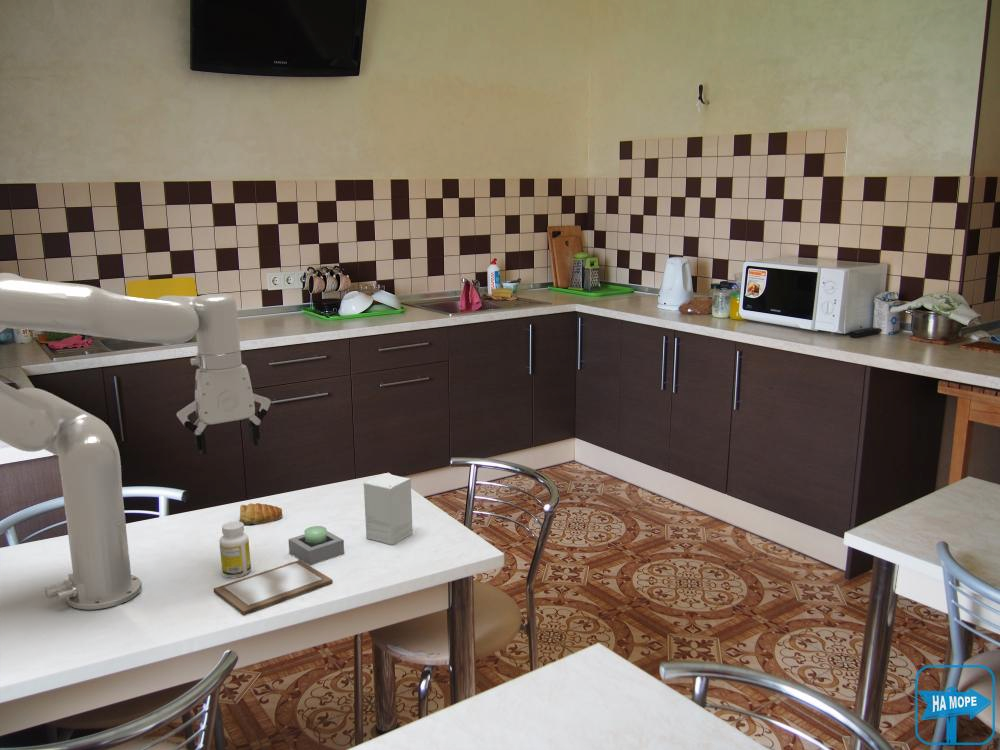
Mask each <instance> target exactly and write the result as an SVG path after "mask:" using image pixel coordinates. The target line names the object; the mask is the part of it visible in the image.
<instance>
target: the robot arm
mask: <svg viewBox="0 0 1000 750" xmlns="http://www.w3.org/2000/svg"><path fill="white" fill-rule="evenodd" d="M6 329H15V330H26V331H28V330H29V331H41V332H42V331H43V332H54V333H64V334H65V333H66V334H77V335H85V336H91V337H98V338H108V339H115V340H116V339H117V340H123V341H129V342H131V341H132V342H139V343H151V344H153V343H154V344H164V345H179V344H184V343H186V342H188V341H190V340H192V338H194V337H196V346H197V353H196V356H194V357H191V358H190V364H191V366H198V367H199V368H196V370H195V381H194V401H192V402H191V403H189V404H187V405H186V406H185V407H183V408H182V409H180V410H178V411H177V412H176V417H177V418H178V420H179V421H180V422H181V423H182V425H183V426H184V427H185V428H186V429H187V430H189V431H190V432H192V433H193V435H194V445H195V450H196V451H199V453H200V454H201V455H202V456H205V455H207V453H208V452H207V451H208V450H207V443H206V442H207V441H206V435H205V433H204V432H203V431H204V430H205V429H206V427H207V426H208V425H216V424H224V423H229V422H234V421H242V420H245V419H249V422H248V424H247V426H248V427H247V428H248V437H249V442H250V444H252V445H253V446H255V447H256V446H258V445H259V442H258V440H260V439H261V436H260V424H261V422H262V420H263V419H265V417H266V416H267V414H268V410H269V408H270V407H271V403H272V401H271V399H270V398H268V397H266V396H261V395H259V394H256V393H254V392H253V388H252V383H251V382H252V381H251V378H250V373H249V370H248V367H247V365H245V364H243V362H242V353H241V342H240V332H239V320H238V309H237V302H236V298H235V297H234V296H233V295H231V294H228V293H207V294H202V295H199V296H195V295H194V296H192V295H188V296H187V295H172V294H171V295H163V296H160V297H158V298H156V299H152V298H142V297H136V296H135V297H134V296H129V295H123V294H119V293H114V292H111V291H109V290H105V289H102V288H101V287H97V286H94V285H90V284H84V283H83V284H81V283H72V282H61V281H60V282H59V281H51V280H42V279H33V278H25V277H22V276H20V275H18V274H15V273H11V272H0V333H1V332H3V331H4V330H6ZM255 402H257V403H258V404H260V407H259V409H258V410H257V411H256V406H255ZM193 412H195V414H196V418H197V419H196V421H195V422H192V421H190V420H189V419H188V416H189V415H190V414H192V413H193ZM0 441H1V442H2V443H5V444H7V445H9V446H11V447H12V448H14V449H17V450H19V451H23V452H32V453H35V452H40V451H42V450H45V451H46V452H48V453H51V454H53V455H55V456H57V457H58V464H59V465H58V466H59V473H60V481H61V488H62V495H63V505H64V513H65V520H66V527H67V528H66V529H67V535H68V542H69V543H68V545H69V552H70V559H71V568H72V573H69V574H68V575H67V577H68V579H67V580H63V582H62V583H59V584H55V585H52V586H47V587H45V588H44V594H45V597H46V599H48V600H49V599H51V598H54V597H57V600H58V601H60V600H64V599H65V600H66V604H68V605H69V606H70V607H73V609H78V610H87V611H88V610H89V611H90V610H101V609H107V608H111V607H115V606H117V605H121V604H123V603H126V602H128V601H129V600H132V599H133V598H135V597H136V596H137V595H138V594H139V593H140V591H141V590H142V581H141V579H140V578H139V577H138V576H136V575H133V574H132V571H131V562H130V561H131V560H130V553H129V541H128V534H127V522H126V515H125V505H124V497H123V495H124V494H123V484H122V483H123V482H122V465H121V462H122V461H121V455H120V450H119V447H118V444H117V441H116V438H115V435H114V433H113V431H112V430H111V428H110V427H109V425H108V424H106V422H104V421H103V420H102V419H100V418H99V417H97V416H95V415H93V414H91V413H89V412H87V411H85V410H84V409H81V408H80V407H78V406H76V405H74V404H73V403H71V402H69V401H67V400H64V399H63V398H60V397H59V396H57V395H55V394H53V393H51V392H48V391H47V390H44V389H41V388H36V387H24V388H19V389H18V388H17V389H16V388H15V387H12V386H10V385H9V384H7V383H4V382H3V381H2V380H0Z"/></svg>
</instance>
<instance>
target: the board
mask: <svg viewBox="0 0 1000 750" xmlns="http://www.w3.org/2000/svg"><path fill="white" fill-rule="evenodd" d="M333 583H334V581H333V579H332V578H331V577H329V576H327V575H325V574H324V573H322V572H321V571H319V570H318V569H316V568H314V567H313V566H311V565H309V564H307V563H305V562H304V561H302V560H300V559H298V560H296V561H295V560H294V561H291V562H288V563H286V564H284V565H280V566H276V567H274V568H271V569H268V570H264V571H262V572H259V573H256V574H252V575H249V576H247V577H243V578H241V579H238V580H235V581H231V582H228V583H226V584H223V585H222V584H221V585H220V586H219V585H218V586H217V587H213V594H215V595H216V596H218V597H219V598H220V599H222V600H223V601H224V602H226V603H227V604H228V605H230V606H231V607H232V608H233V609H235V610H236V611H237V612H238V613H240V614H241V615H242V616H247V615H250V614H253V613H256V612H258V611H261V610H264V609H267V608H270V607H272V606H274V605H278V604H280V603H283V602H286V601H288V600H292V599H294V598H297V597H299V596H302V595H305V594H308V593H310V592H311V593H312V592H313V591H316V590H318V589H319V590H320V589H322V588H324V587H328V586H330V585H333Z"/></svg>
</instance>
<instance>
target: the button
mask: <svg viewBox="0 0 1000 750" xmlns="http://www.w3.org/2000/svg"><path fill="white" fill-rule="evenodd" d="M327 531H328V530H327V527H326V526H322V525H313V526H309V527H307V528H305V530H304V532H303V533H304V534H305V542H306V543H309V544H318V543H322V542H325V541H326V540H327Z"/></svg>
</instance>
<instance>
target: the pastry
mask: <svg viewBox="0 0 1000 750" xmlns="http://www.w3.org/2000/svg"><path fill="white" fill-rule="evenodd" d="M282 517H283V509H282V508H281V507H279V506H275V505H272V504H266V503H260V502H256V503H248V504H241V505H240V508H239V520H238V522H242V523H243V524H244V526H245V525H247V526H250V525H251V524H254V525H261V524H267V523H272V521H273V522H275V521H277V520H280V519H282Z"/></svg>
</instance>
